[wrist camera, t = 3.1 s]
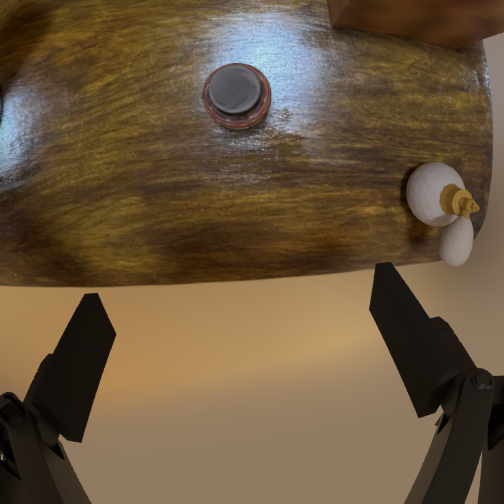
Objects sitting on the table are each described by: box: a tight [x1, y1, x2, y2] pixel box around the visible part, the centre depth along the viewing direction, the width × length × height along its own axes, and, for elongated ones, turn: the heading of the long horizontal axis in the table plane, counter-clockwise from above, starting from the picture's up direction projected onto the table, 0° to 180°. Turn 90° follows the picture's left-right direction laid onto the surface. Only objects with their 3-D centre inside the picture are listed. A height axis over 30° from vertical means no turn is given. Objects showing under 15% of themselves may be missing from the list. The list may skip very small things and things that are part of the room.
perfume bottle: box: [406, 162, 479, 266], centre depth 29 cm, size 8×10×12 cm
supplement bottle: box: [202, 63, 271, 132], centre depth 27 cm, size 6×6×11 cm
